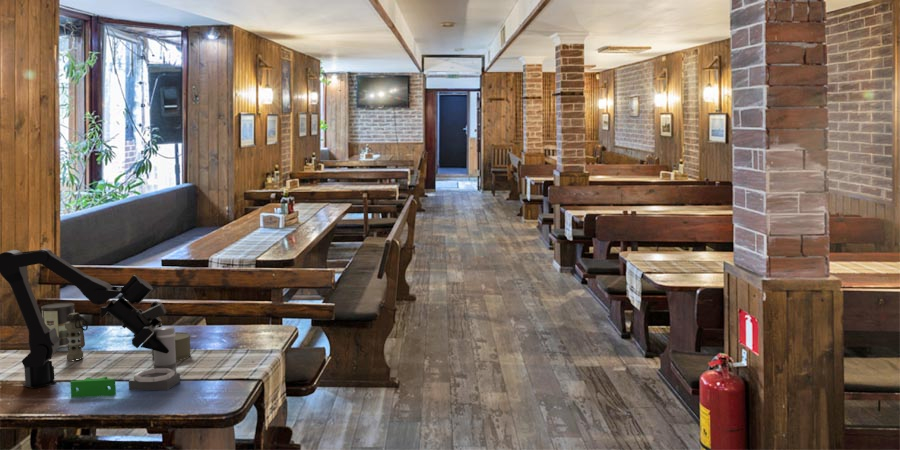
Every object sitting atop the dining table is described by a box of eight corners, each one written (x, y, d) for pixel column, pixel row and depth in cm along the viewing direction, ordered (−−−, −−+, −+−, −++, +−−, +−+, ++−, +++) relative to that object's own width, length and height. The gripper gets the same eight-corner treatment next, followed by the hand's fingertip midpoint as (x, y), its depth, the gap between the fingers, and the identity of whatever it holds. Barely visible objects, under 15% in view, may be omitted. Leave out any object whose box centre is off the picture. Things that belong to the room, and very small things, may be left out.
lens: (162, 379, 211) (160, 332, 210) (149, 376, 214) (147, 329, 213) (181, 374, 216) (179, 327, 215) (168, 371, 220) (166, 325, 219)
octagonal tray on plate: (127, 390, 200) (126, 378, 200) (144, 380, 210) (144, 368, 210) (165, 390, 200) (165, 378, 199) (181, 380, 210) (181, 368, 209)
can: (198, 353, 240) (198, 333, 240) (175, 363, 229) (174, 341, 228) (168, 351, 244) (167, 331, 243) (143, 360, 232) (142, 339, 232)
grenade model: (82, 361, 232) (79, 315, 230) (63, 360, 233) (60, 314, 232) (95, 356, 238) (93, 311, 237) (77, 355, 239) (75, 310, 238)
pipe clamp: (119, 392, 200) (118, 375, 200) (114, 396, 196) (113, 379, 196) (76, 393, 199) (75, 377, 198) (71, 398, 195) (70, 381, 195)
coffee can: (78, 340, 262) (76, 301, 261) (74, 346, 252) (72, 306, 251) (45, 342, 258) (43, 303, 257) (41, 349, 248) (38, 309, 247)
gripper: (142, 300, 203) (185, 336, 207) (152, 289, 221) (192, 323, 225) (113, 329, 202) (157, 365, 206) (126, 316, 220) (166, 349, 224)
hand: (169, 349), depth 215 cm, fingers closed on lens, 6 cm apart
